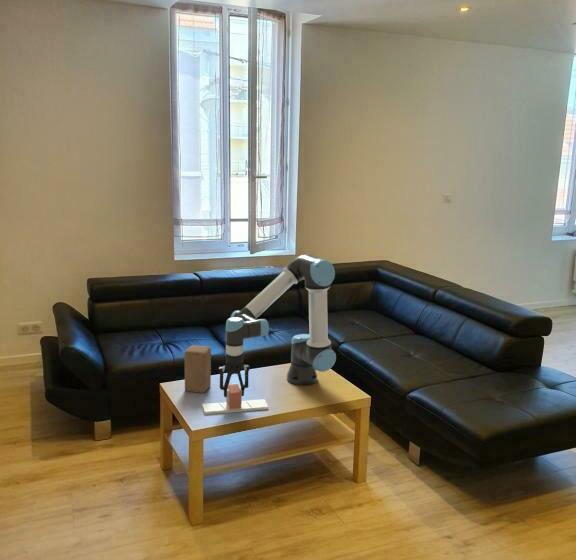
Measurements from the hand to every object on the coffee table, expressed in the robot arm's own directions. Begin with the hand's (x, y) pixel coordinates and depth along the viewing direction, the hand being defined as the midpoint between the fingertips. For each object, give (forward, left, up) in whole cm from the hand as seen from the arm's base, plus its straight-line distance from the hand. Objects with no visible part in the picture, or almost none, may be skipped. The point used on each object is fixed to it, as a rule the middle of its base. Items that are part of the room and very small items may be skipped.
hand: (233, 402), depth 255 cm
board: (-1, 0, -2) cm, 2 cm away
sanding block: (0, 0, -1) cm, 1 cm away
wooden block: (+13, -24, -3) cm, 28 cm away
